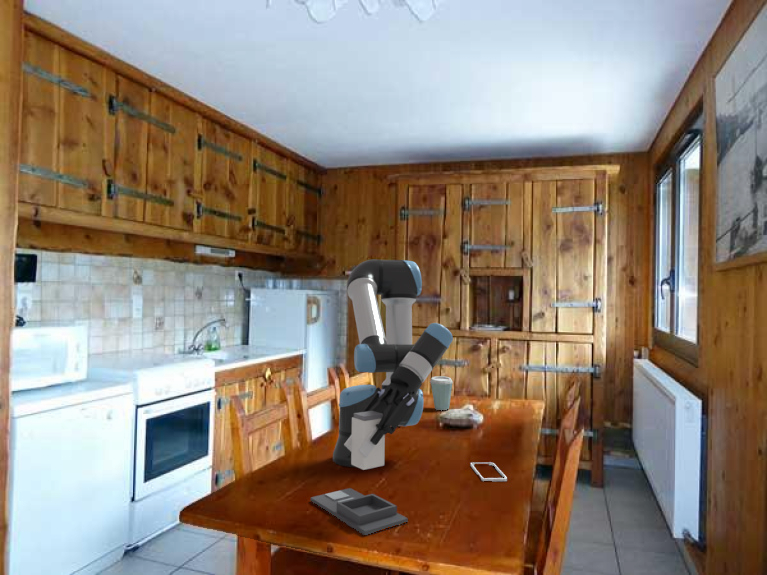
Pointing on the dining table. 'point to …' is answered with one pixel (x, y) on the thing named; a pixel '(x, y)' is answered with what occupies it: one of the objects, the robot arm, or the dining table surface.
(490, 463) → the silver rectangular frame
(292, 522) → the dining table surface
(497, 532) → the dining table surface
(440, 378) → the disposable coffee cup
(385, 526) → the grey socket base plate
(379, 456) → the plug
